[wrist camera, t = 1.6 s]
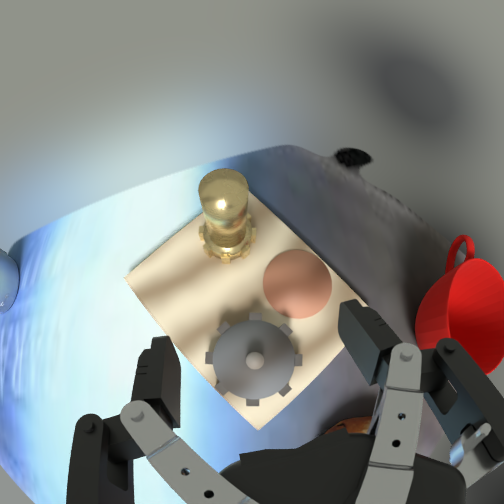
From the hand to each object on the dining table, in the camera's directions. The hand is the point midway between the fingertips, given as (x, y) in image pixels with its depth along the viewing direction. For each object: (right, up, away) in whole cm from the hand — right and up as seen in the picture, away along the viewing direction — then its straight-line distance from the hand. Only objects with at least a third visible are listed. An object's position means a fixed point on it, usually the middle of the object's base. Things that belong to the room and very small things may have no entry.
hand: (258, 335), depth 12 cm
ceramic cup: (+24, -5, +18) cm, 30 cm away
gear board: (-1, -2, +18) cm, 18 cm away
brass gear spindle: (-3, +5, +19) cm, 20 cm away
